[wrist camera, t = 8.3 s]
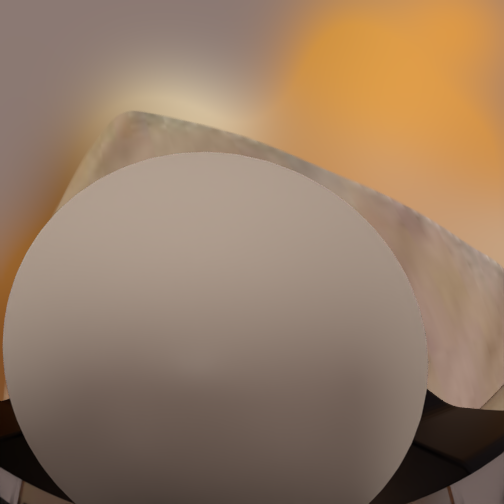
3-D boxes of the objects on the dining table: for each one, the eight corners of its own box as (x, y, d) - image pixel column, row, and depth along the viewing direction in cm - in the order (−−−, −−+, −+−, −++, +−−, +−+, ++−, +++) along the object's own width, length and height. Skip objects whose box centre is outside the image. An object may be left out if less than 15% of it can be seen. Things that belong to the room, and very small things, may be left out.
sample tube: (295, 363, 15) (449, 471, 2) (204, 393, 14) (104, 557, 2) (263, 274, 16) (326, 112, 3) (173, 304, 15) (-15, 240, 3)
